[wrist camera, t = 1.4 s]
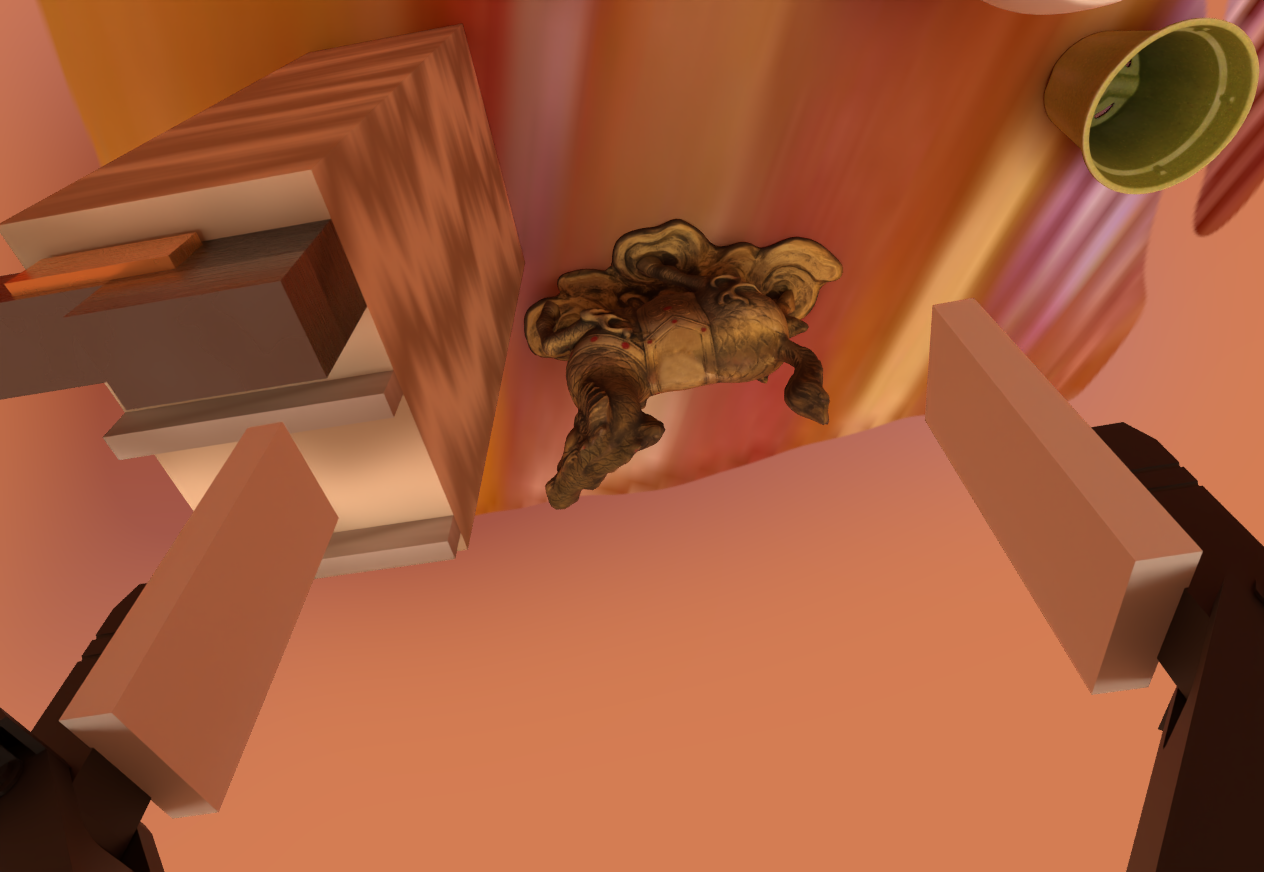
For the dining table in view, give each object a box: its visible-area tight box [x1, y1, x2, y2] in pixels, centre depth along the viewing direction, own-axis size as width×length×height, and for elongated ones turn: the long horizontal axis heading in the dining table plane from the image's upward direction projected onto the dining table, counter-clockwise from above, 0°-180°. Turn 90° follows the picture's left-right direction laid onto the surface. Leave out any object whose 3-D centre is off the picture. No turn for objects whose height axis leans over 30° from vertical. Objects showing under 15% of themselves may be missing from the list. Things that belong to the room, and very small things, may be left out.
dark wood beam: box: [0, 219, 367, 410], centre depth 22 cm, size 3×18×4 cm, turn 99°
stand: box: [0, 24, 525, 579], centre depth 38 cm, size 16×10×32 cm, turn 9°
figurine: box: [524, 219, 843, 509], centre depth 49 cm, size 13×25×20 cm, turn 101°
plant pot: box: [1044, 18, 1259, 194], centre depth 46 cm, size 9×9×9 cm
